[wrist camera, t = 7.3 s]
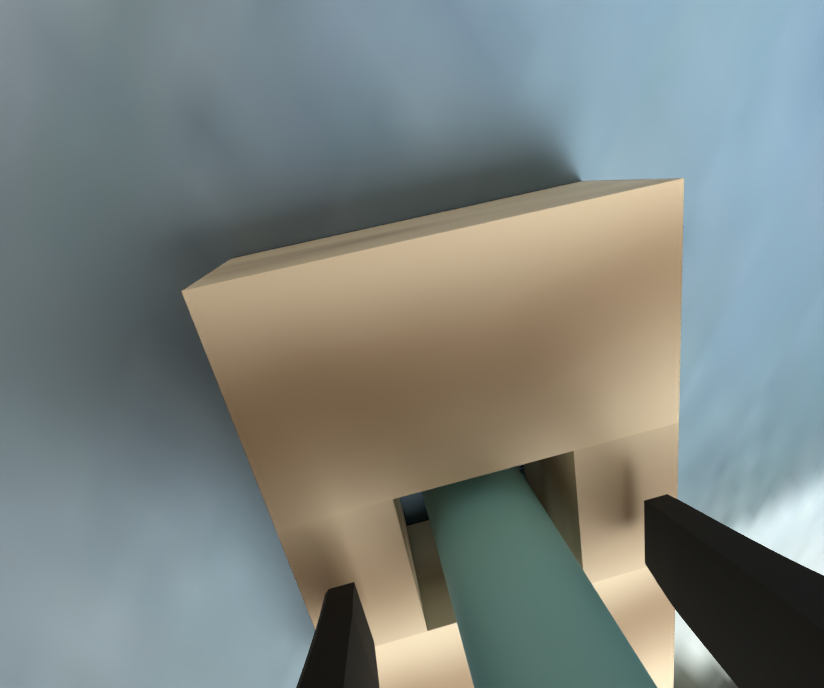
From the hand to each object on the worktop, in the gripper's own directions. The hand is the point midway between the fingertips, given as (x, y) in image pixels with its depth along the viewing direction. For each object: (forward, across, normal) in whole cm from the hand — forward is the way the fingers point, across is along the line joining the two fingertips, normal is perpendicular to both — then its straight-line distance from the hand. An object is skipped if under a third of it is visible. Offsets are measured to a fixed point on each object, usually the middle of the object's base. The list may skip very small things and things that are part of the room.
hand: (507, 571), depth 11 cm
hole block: (+5, 0, 0) cm, 5 cm away
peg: (+5, 0, 0) cm, 5 cm away
